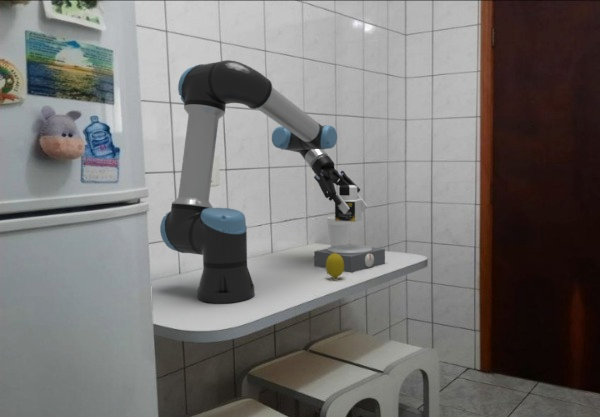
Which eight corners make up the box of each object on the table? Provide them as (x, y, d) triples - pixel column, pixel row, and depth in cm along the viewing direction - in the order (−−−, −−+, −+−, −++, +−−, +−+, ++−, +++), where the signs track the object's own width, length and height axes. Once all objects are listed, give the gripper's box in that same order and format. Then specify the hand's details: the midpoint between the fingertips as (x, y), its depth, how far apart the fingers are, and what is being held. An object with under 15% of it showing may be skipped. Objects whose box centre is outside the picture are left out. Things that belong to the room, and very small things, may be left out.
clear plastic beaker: (352, 248, 214) (352, 216, 212) (350, 252, 205) (350, 218, 203) (329, 248, 215) (328, 216, 214) (326, 252, 206) (325, 218, 205)
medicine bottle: (334, 221, 179) (334, 185, 178) (342, 219, 185) (342, 184, 184) (355, 222, 176) (354, 185, 174) (362, 219, 182) (361, 184, 181)
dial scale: (352, 272, 169) (352, 255, 169) (314, 265, 181) (314, 249, 181) (386, 263, 182) (386, 247, 181) (348, 257, 194) (348, 242, 193)
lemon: (343, 281, 158) (342, 254, 157) (324, 280, 159) (324, 254, 158) (345, 276, 163) (345, 251, 163) (327, 276, 165) (327, 250, 164)
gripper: (334, 168, 197) (369, 214, 187) (292, 170, 182) (328, 220, 172) (345, 154, 193) (382, 200, 183) (303, 154, 178) (340, 205, 168)
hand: (356, 210), depth 178 cm, fingers closed on medicine bottle, 9 cm apart
